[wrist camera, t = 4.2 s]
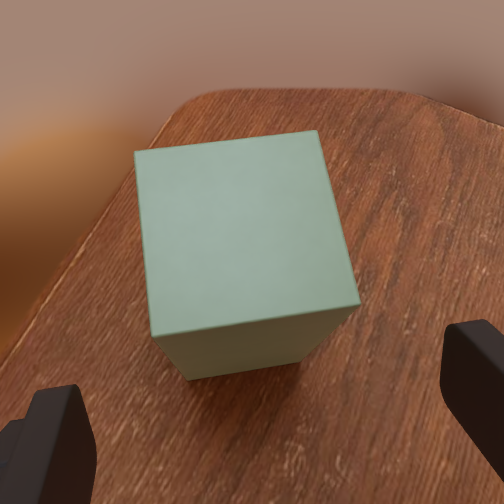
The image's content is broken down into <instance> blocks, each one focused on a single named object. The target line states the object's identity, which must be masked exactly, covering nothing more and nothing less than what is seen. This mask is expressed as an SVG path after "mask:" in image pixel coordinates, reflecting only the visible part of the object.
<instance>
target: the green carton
mask: <svg viewBox="0 0 504 504" xmlns="http://www.w3.org/2000/svg"><path fill="white" fill-rule="evenodd" d="M134 165H135V176H136V186H137V197H138V207H139V218H140V228H141V238H142V249H143V259H144V270H145V280H146V291H147V301H148V312H149V322H150V333H151V337H152V339H153V340H154V341H155V342H156V344H157V345H158V346H159V347H160V348H161V350H162V351H163V352H164V353H165V355H166V356H167V357H168V358H169V359H170V361H171V362H172V363H173V364H174V366H175V367H176V368H177V369H178V370H179V372H180V373H181V374H182V375H183V377H184V378H185V379H186V380H187V381H189V380H195V379H201V378H207V377H213V376H219V375H225V374H231V373H237V372H243V371H249V370H255V369H261V368H267V367H273V366H279V365H285V364H291V363H297V362H301V361H302V360H303V359H304V358H305V357H306V356H307V355H308V354H309V353H310V352H311V351H312V350H313V349H315V348H316V347H317V346H318V345H319V344H320V343H321V342H322V341H323V340H324V339H325V338H326V337H327V336H328V335H329V334H330V333H332V332H333V331H334V330H335V329H336V328H337V327H338V326H339V325H340V324H341V323H342V322H343V321H344V320H345V319H346V318H348V317H349V316H350V315H351V314H352V313H353V312H354V311H355V310H356V309H357V308H358V307H359V306H360V305H361V301H360V297H359V293H358V289H357V285H356V281H355V277H354V273H353V269H352V265H351V261H350V257H349V253H348V250H347V246H346V242H345V238H344V234H343V230H342V226H341V222H340V218H339V214H338V210H337V206H336V202H335V199H334V195H333V191H332V187H331V183H330V179H329V175H328V171H327V167H326V163H325V159H324V155H323V151H322V148H321V144H320V140H319V136H318V132H317V130H312V131H303V132H295V133H286V134H278V135H269V136H260V137H252V138H243V139H235V140H226V141H217V142H209V143H200V144H192V145H183V146H174V147H166V148H157V149H148V150H140V151H134Z"/></svg>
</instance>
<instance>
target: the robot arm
mask: <svg viewBox="0 0 504 504" xmlns="http://www.w3.org/2000/svg"><path fill="white" fill-rule="evenodd" d="M440 389H441V393H442V396H443V399H444V401H445V403H446V405H447V407H448V408H449V410H450V411H451V412H452V414H453V415H454V416H455V418H456V419H457V420H458V422H459V423H460V424H461V426H462V427H463V429H464V430H465V431H466V433H467V434H468V435H469V437H470V438H471V439H472V441H473V442H474V443H475V445H476V446H477V447H478V449H479V450H480V451H481V453H482V454H483V455H484V457H485V458H486V459H487V461H488V462H489V463H490V465H491V466H492V467H493V469H494V470H495V471H496V473H497V474H498V475H499V477H500V478H501V479H502V481H503V482H504V335H503V334H502V333H500V332H499V331H498V330H497V329H496V328H495V327H494V326H493V325H492V324H490V323H489V322H488V321H486V320H484V319H479V320H473V321H467V322H461V323H455V324H450V325H448V326H447V327H446V330H445V334H444V343H443V352H442V361H441V371H440ZM96 465H97V452H96V443H95V439H94V435H93V432H92V428H91V425H90V422H89V418H88V415H87V412H86V408H85V405H84V402H83V398H82V395H81V392H80V389H79V387H78V386H77V385H76V384H73V385H66V386H60V387H54V388H48V389H42V390H37V391H36V392H35V394H34V396H33V398H32V401H31V403H30V406H29V409H28V411H27V414H26V416H25V418H24V419H18V420H13V421H10V422H9V423H8V424H7V425H6V426H5V427H4V428H3V430H2V431H1V432H0V504H90V501H91V496H92V490H93V485H94V479H95V473H96Z"/></svg>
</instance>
